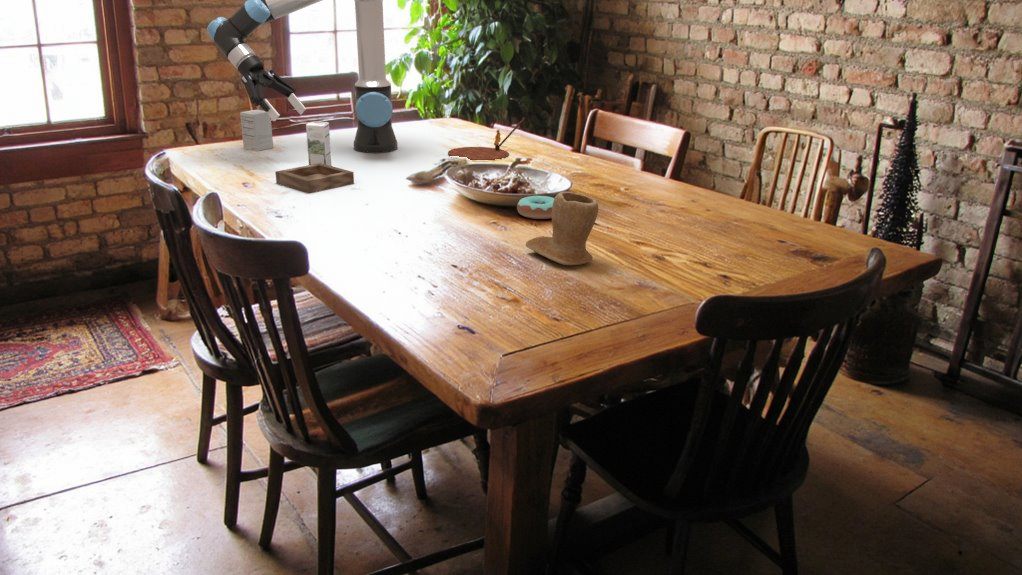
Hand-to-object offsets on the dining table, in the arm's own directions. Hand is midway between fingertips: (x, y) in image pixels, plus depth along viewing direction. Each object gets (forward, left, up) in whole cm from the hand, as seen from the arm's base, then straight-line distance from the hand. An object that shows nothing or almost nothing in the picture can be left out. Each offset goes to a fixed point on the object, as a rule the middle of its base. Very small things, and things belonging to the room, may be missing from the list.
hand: (290, 115), depth 262 cm
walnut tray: (+8, +23, -16) cm, 29 cm away
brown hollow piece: (+8, +117, -16) cm, 118 cm away
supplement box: (-7, -31, -16) cm, 36 cm away
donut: (-15, +90, -17) cm, 93 cm away
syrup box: (-4, +9, -16) cm, 19 cm away
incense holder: (-60, +29, -17) cm, 68 cm away
